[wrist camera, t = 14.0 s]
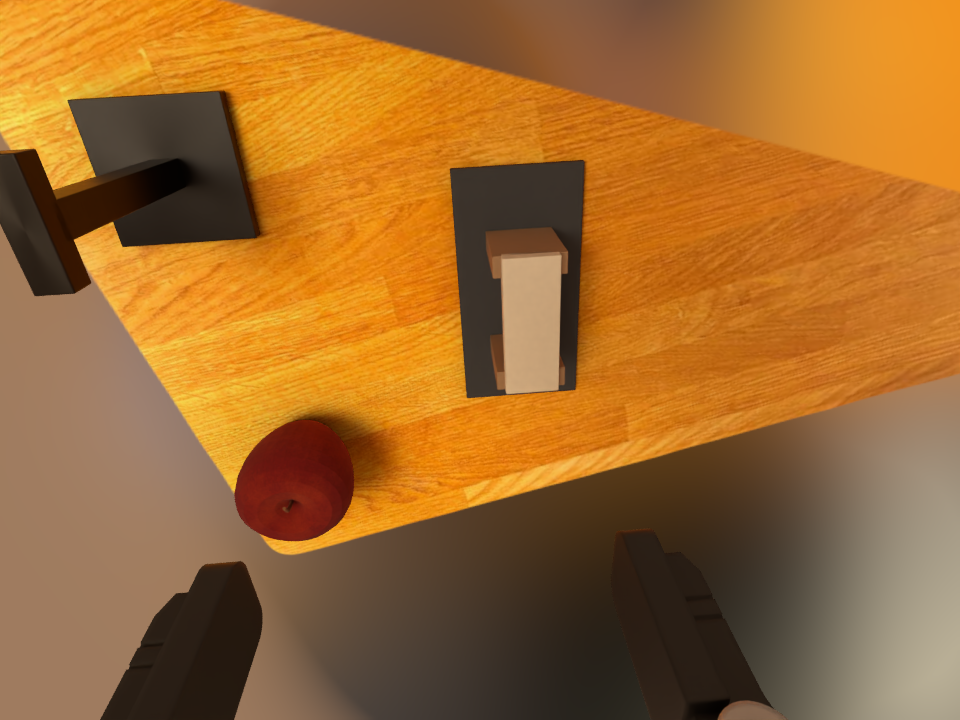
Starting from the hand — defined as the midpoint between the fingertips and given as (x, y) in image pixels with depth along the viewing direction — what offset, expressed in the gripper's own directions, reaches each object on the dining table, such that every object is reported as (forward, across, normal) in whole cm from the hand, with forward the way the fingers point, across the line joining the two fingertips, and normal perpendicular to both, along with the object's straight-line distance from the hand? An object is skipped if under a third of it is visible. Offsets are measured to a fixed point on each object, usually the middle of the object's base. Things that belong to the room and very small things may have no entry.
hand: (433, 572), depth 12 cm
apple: (+34, +14, +21) cm, 43 cm away
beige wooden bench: (+34, -6, +7) cm, 35 cm away
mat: (+34, -6, +7) cm, 35 cm away
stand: (+34, +19, -4) cm, 39 cm away
